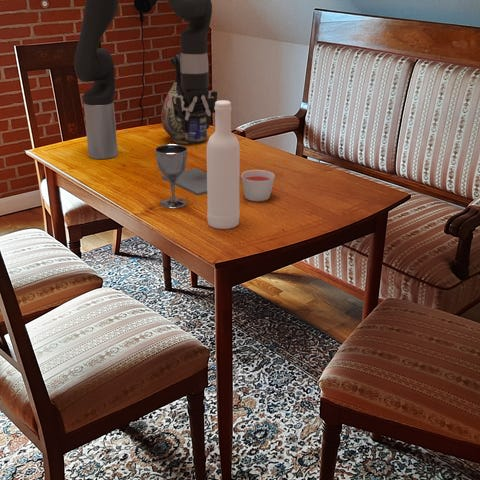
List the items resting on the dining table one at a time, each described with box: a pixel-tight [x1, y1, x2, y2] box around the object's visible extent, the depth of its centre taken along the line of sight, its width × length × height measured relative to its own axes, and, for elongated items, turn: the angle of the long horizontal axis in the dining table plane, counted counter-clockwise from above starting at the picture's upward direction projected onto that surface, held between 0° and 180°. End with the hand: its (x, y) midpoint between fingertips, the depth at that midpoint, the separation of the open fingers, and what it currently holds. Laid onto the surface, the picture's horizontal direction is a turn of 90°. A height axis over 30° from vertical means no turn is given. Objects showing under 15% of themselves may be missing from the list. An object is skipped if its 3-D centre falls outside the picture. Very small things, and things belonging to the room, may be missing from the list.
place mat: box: [161, 167, 207, 196], centre depth 180 cm, size 18×12×1 cm, turn 39°
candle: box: [240, 169, 275, 202], centre depth 168 cm, size 9×9×6 cm
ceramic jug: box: [160, 53, 190, 145], centre depth 211 cm, size 17×15×30 cm
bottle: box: [206, 99, 241, 230], centre depth 147 cm, size 8×8×30 cm
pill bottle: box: [185, 103, 208, 145], centre depth 174 cm, size 6×6×11 cm
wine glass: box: [155, 143, 188, 209], centre depth 162 cm, size 8×8×15 cm
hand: (195, 130), depth 175 cm, fingers closed on pill bottle, 6 cm apart
